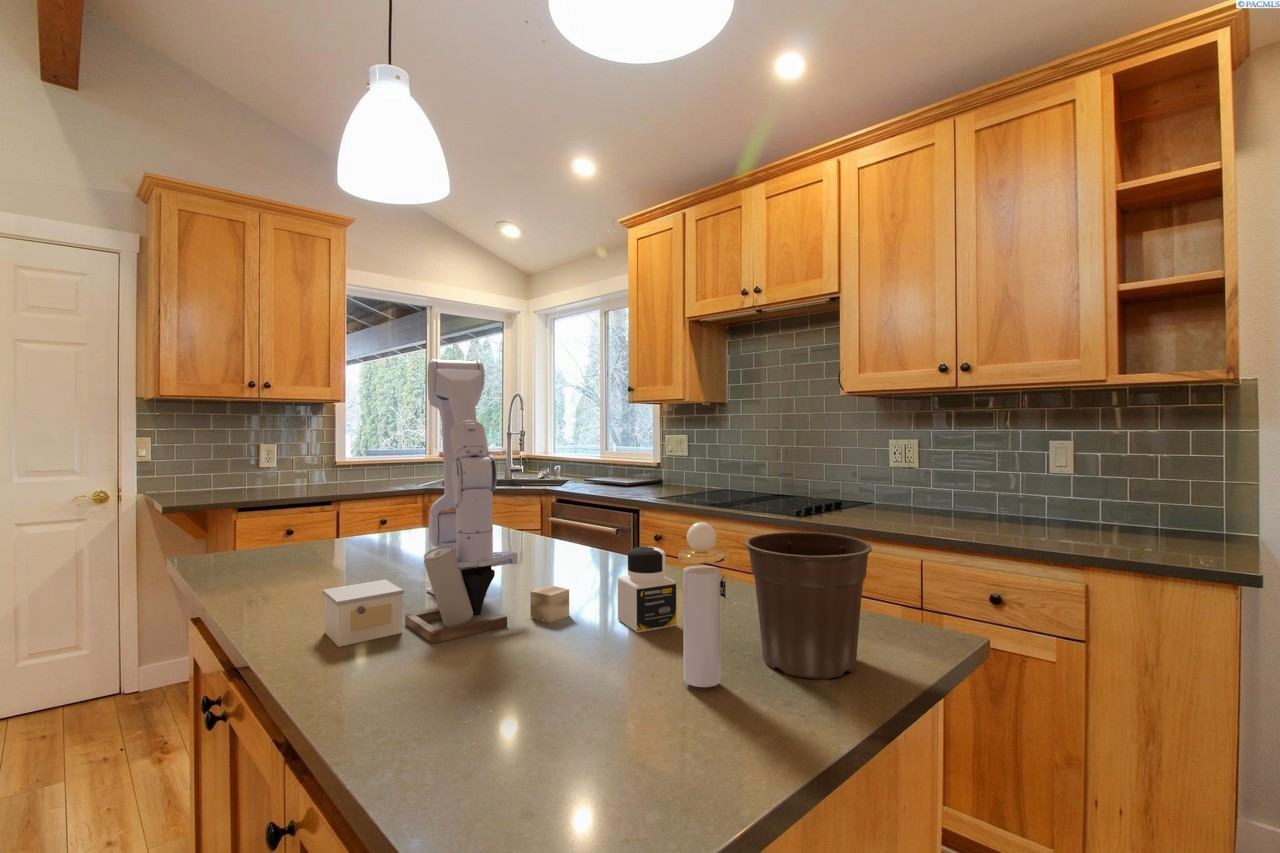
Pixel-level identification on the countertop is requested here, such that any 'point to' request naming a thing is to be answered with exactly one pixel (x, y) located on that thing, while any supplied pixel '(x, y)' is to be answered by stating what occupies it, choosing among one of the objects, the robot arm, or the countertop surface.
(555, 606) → the beech block
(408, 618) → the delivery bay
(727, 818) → the countertop surface
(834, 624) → the plant pot
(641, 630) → the medicine bottle
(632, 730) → the countertop surface
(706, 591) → the perfume bottle
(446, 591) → the beverage can
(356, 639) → the control box
